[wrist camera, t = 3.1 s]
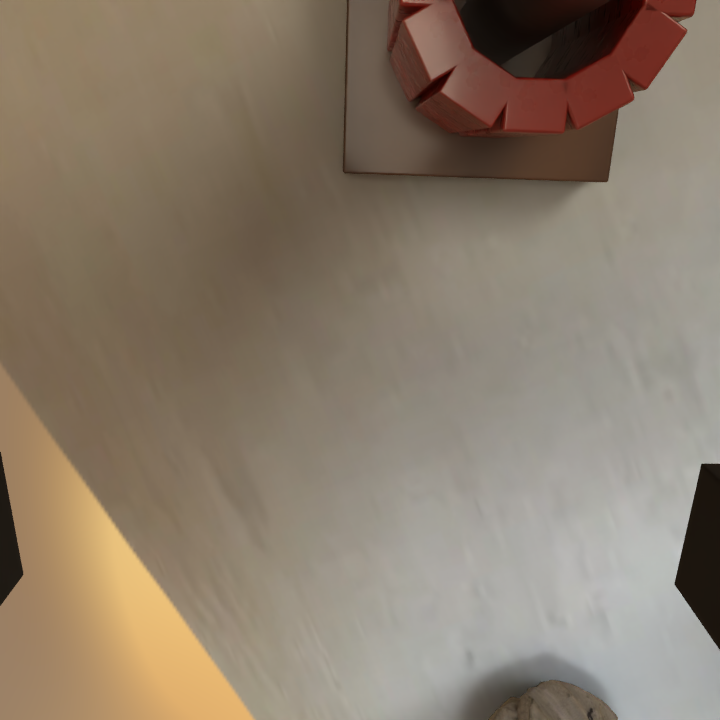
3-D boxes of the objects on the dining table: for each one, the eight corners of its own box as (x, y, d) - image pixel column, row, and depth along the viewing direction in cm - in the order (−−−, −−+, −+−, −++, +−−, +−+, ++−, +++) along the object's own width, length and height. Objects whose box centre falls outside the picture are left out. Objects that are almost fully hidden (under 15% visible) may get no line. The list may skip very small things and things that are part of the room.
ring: (383, 133, 24) (392, 128, 16) (392, -91, 22) (409, -218, 14) (575, 140, 24) (674, 138, 16) (604, -83, 22) (733, -205, 14)
